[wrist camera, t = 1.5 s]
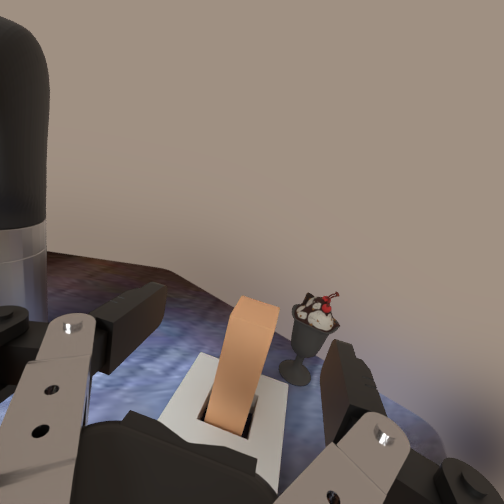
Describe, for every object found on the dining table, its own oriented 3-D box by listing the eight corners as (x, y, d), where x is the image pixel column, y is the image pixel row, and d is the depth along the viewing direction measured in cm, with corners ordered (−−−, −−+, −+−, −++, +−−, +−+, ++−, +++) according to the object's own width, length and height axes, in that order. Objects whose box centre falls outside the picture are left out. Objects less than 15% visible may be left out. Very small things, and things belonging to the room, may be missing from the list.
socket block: (142, 460, 24) (146, 437, 23) (196, 369, 35) (200, 352, 34) (268, 515, 22) (277, 493, 21) (282, 401, 33) (288, 384, 32)
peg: (200, 436, 27) (230, 314, 22) (213, 404, 31) (241, 295, 26) (236, 451, 26) (274, 329, 22) (245, 417, 30) (280, 307, 25)
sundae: (311, 400, 35) (350, 304, 30) (266, 375, 37) (296, 283, 32) (320, 371, 40) (354, 287, 36) (281, 350, 43) (308, 270, 38)
